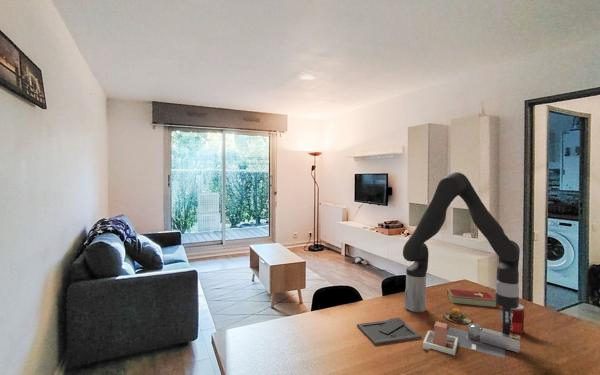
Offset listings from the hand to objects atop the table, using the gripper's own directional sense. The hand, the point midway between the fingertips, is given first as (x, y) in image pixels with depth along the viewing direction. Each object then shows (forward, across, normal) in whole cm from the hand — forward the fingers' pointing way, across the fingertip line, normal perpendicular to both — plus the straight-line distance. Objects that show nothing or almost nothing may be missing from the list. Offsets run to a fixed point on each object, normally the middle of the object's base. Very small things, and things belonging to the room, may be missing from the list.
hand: (505, 336), depth 121 cm
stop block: (+3, -13, +22) cm, 25 cm away
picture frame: (+5, -13, +42) cm, 44 cm away
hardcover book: (+6, +44, +14) cm, 47 cm away
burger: (+5, +15, +18) cm, 24 cm away
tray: (+4, -13, +21) cm, 25 cm away
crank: (+3, -3, +4) cm, 6 cm away
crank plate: (+4, -4, +10) cm, 12 cm away
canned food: (+5, +18, -3) cm, 18 cm away
